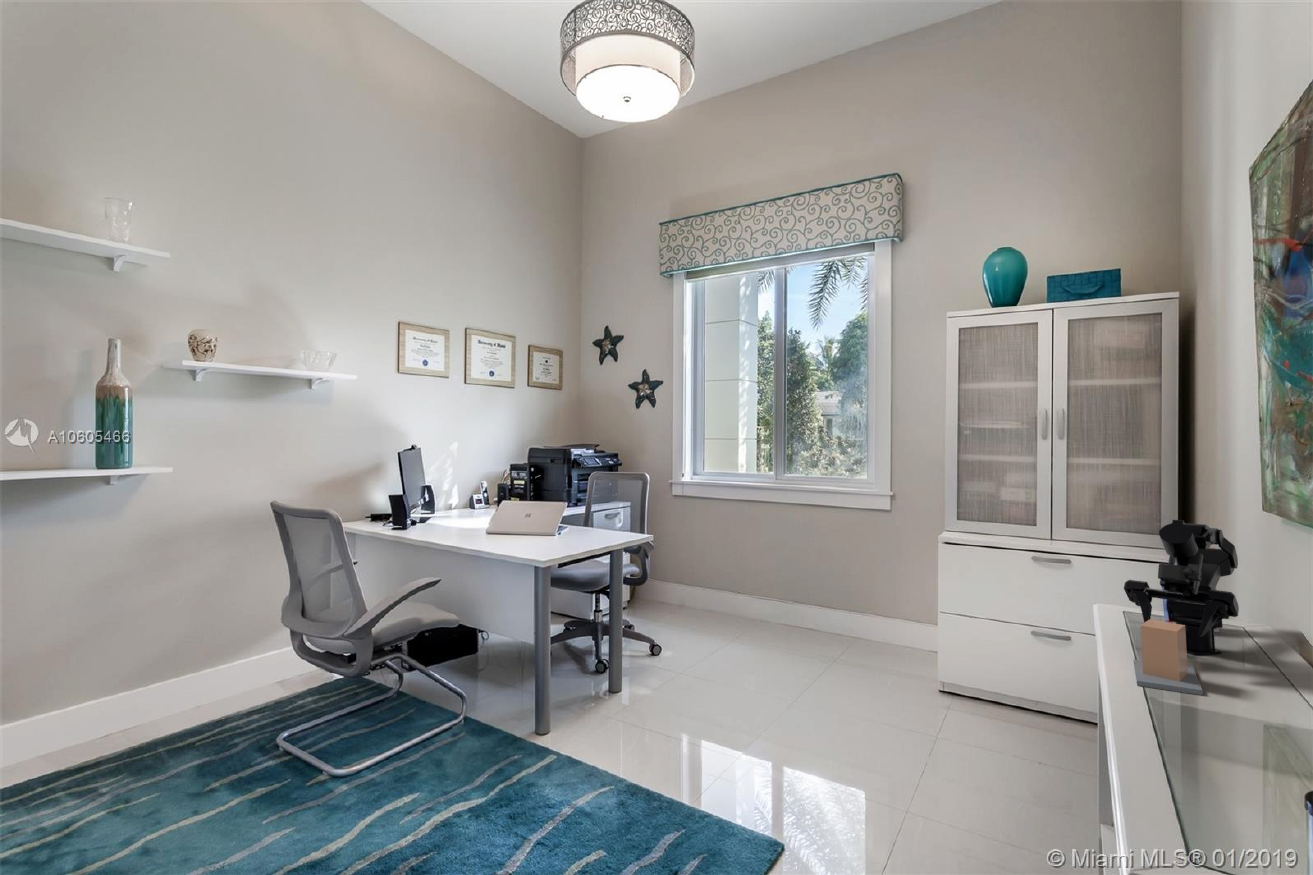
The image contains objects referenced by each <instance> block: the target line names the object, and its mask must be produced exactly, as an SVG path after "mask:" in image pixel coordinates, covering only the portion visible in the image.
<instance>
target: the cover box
mask: <svg viewBox="0 0 1313 875" xmlns="http://www.w3.org/2000/svg"><path fill="white" fill-rule="evenodd" d="M1139 626H1140V644H1141V646H1140V647H1141V660H1142V665H1143V674H1148V675H1152V676H1157V677H1161V678H1166V679H1171V680H1175V681H1181V680H1182V679H1183V678H1184V677H1185V676H1186V675H1187V674H1188V667H1187V666H1188V656H1187V654H1188V652H1187V649H1186V632H1185V625H1181V624H1174V623H1168V622H1165V621H1161V620H1154V619H1150V620H1148V621H1146V622H1145V623H1144V622H1143V623H1142V624H1141V625H1139Z"/></svg>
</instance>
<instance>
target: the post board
mask: <svg viewBox="0 0 1313 875" xmlns="http://www.w3.org/2000/svg"><path fill="white" fill-rule="evenodd" d="M1133 667H1134V668H1133V669H1134V674H1135V681H1136V686H1137V685H1139V686H1138V687H1144V688H1151V689H1158V690H1165V691H1171V692H1177V693H1185V694H1191V695H1197V696H1203V688H1202V686H1201V684H1200V681H1199V679H1198V677H1197V674H1196V671H1195V668H1194V667H1193V666H1188V665H1187V667H1188V674H1187V675H1186V676H1185V677H1184V678H1183V679H1182V680H1181V681H1175V680H1171V679H1166V678H1161V677H1157V676H1152V675H1148V674H1143V665H1142V659H1136V658H1135V659H1134V658H1133Z"/></svg>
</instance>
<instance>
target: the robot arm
mask: <svg viewBox="0 0 1313 875" xmlns="http://www.w3.org/2000/svg"><path fill="white" fill-rule="evenodd" d="M1158 534H1159V538H1160V540H1161V543H1162V546H1163V548H1164V551H1165V552H1166V554H1167V555H1168V556H1169V557H1168V561H1167V563H1159V564H1158V570H1157V571H1158V572H1157V579H1158V580H1159V586H1160V587H1162V586H1164V587H1163V590H1162V588H1161V589H1159V588H1152V587H1150V585H1149V583H1148V581H1144V580H1143V581H1142V580H1134V579H1128V580H1127V581H1125V582H1124V586H1123V590H1124V592H1125V595H1126V596H1127V598H1128V601H1130V602H1132V603H1134V604H1135V605H1136V606H1137V607H1140V611H1141V614H1142V618H1143V623H1145V622H1146V621H1148V620H1151V618H1152V611H1153V610H1152V609H1153V606H1152V601H1153V598H1155V599H1160V600H1163V599H1167V602H1166V604H1167V611H1168V617H1169V622H1176V624H1181V625H1185V632H1186V649H1187V653H1189V654H1192V655H1196V656H1197V655H1198V656H1199V655H1214V654H1222V650H1220V649H1216V646H1215V644H1216V643H1215V632H1214V629H1217V628H1219V629H1220V628H1221V629H1222V628H1223V620H1229V618H1230V617H1232V618H1236V617H1239V613H1240V612H1239V611H1240V610H1239V609H1240V608H1239V607H1240V606H1239V603H1238V601H1237V597H1236V595H1235V594H1234V593H1233V592H1232V591H1226V590H1219V589H1218V590H1217V589H1216V590H1215V587H1216V588H1217V584H1218V583H1219V580H1220V579H1221V578H1222V577H1227V576H1231V575H1232V574H1233V572H1234V571H1235V569H1238V564H1239V560H1238V558H1239V557H1238V554H1237V549H1236V546H1235V545H1234V544H1233V543H1232V542H1231V541H1229V540H1228V539H1227V537H1226V538H1225V537H1224V534H1223V531H1222V529H1219V528H1217V527H1216V528H1213V527H1209V526H1208V525H1207V524H1203V523H1185V520H1183V519H1172V522H1171V523H1168V524H1166V525H1164V526H1162V527H1161V528H1160V529H1159V531H1158ZM1212 545H1216V546H1217V545H1218V547H1219V548H1211V546H1212Z"/></svg>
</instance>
